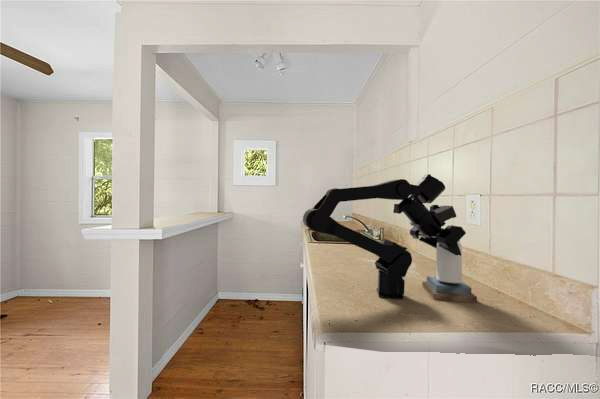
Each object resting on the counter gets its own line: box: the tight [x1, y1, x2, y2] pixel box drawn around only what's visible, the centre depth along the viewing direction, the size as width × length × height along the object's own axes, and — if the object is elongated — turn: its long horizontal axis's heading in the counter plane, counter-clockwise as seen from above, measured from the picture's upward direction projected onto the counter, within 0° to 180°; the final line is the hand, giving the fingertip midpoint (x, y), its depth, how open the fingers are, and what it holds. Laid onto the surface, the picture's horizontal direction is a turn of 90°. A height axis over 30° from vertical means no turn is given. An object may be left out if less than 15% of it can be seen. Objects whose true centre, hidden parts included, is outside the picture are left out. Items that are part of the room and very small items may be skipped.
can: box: [435, 239, 463, 284], centre depth 79 cm, size 6×6×12 cm
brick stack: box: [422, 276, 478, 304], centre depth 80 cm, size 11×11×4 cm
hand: (452, 253), depth 80 cm, fingers closed on can, 6 cm apart
